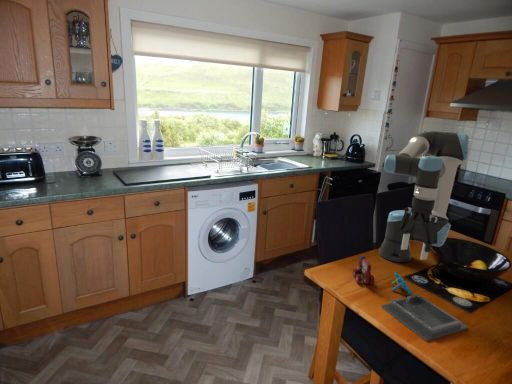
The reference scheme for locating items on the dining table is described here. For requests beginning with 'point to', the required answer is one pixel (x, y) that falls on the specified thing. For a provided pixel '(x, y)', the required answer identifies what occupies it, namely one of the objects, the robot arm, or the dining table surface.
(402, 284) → the blue toy figure
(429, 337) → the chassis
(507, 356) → the dining table surface
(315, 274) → the dining table surface
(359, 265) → the dark red figurine
